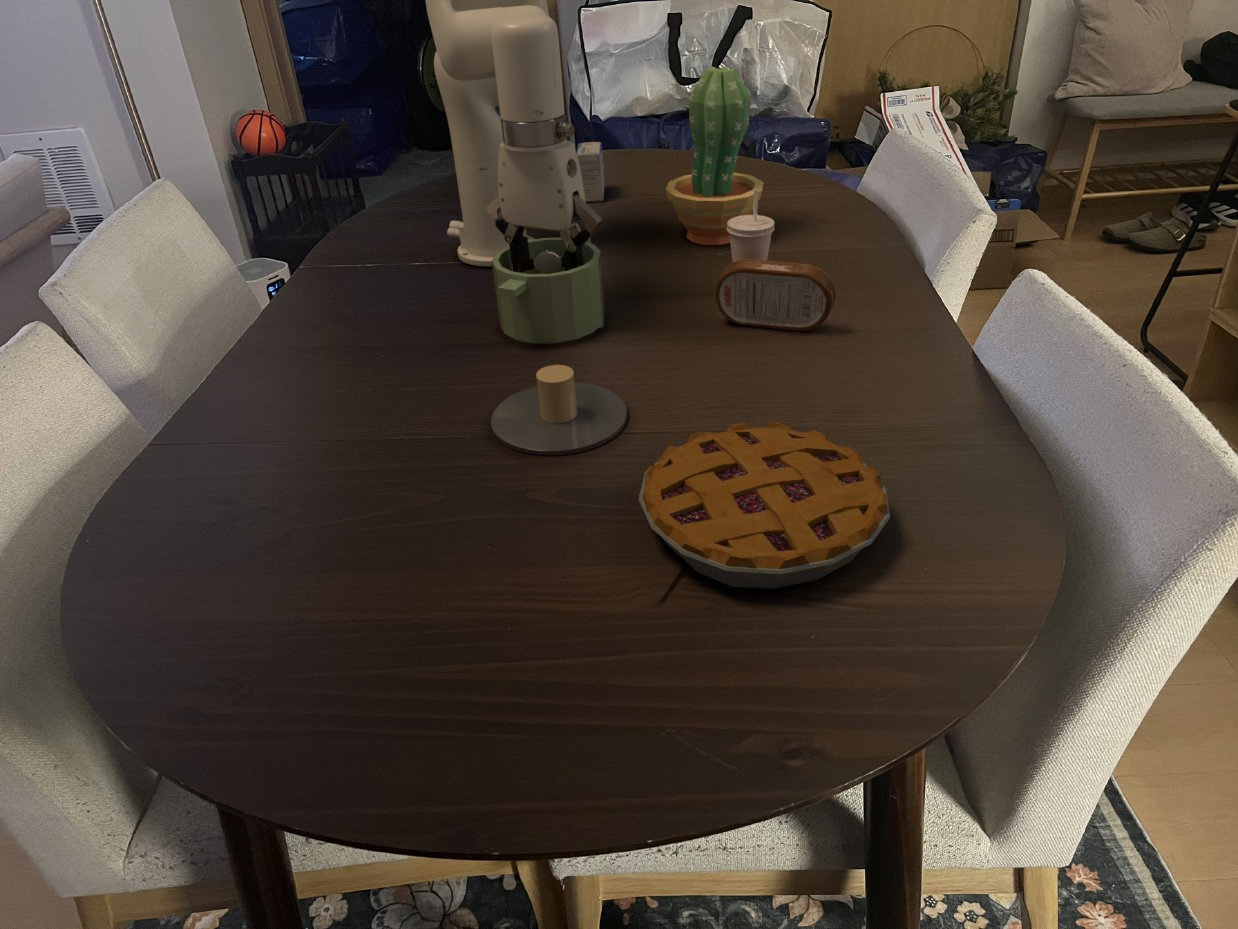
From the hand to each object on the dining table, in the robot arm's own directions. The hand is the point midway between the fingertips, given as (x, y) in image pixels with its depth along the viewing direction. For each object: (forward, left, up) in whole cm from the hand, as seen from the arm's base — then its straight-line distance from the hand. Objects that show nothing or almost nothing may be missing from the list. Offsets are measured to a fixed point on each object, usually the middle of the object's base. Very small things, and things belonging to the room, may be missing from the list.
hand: (547, 273), depth 118 cm
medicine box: (-22, +51, -7) cm, 56 cm away
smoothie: (+20, +20, -7) cm, 29 cm away
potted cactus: (+7, +39, -7) cm, 40 cm away
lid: (+14, -22, -7) cm, 27 cm away
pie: (+40, -30, -7) cm, 51 cm away
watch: (0, 0, -1) cm, 1 cm away
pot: (0, 0, -7) cm, 7 cm away
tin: (+27, +10, -7) cm, 30 cm away
